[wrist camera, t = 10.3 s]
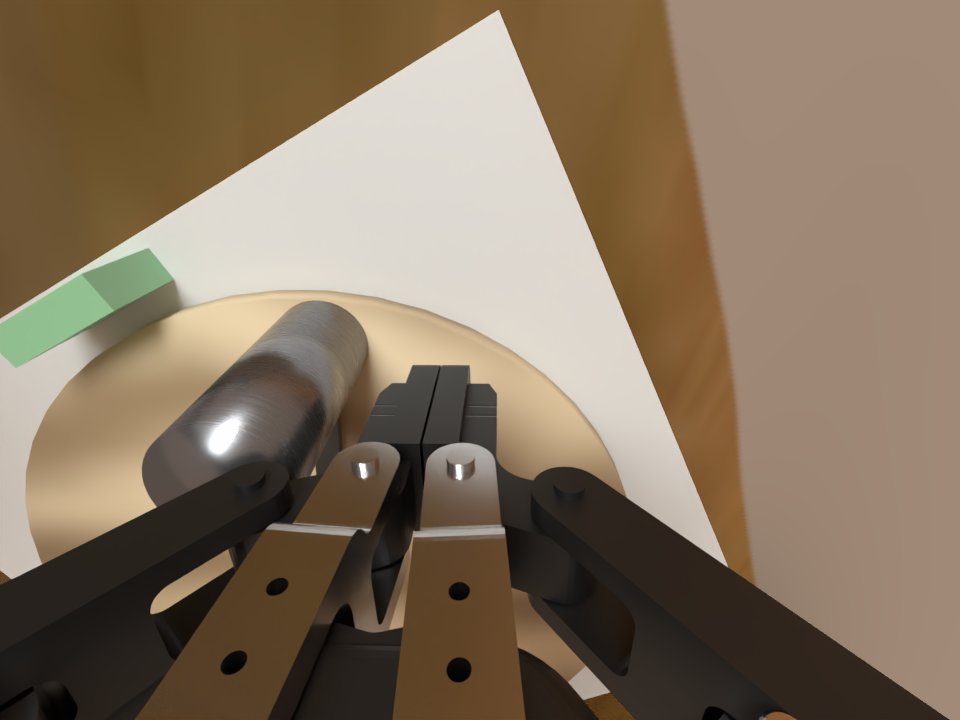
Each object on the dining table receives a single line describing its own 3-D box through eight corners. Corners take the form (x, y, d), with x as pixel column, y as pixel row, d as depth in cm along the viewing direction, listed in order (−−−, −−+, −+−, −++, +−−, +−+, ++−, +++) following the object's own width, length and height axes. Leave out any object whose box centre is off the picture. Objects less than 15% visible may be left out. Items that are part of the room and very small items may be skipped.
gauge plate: (-154, 418, 20) (-289, 482, 17) (497, 16, 14) (502, -18, 11) (288, 765, 32) (264, 847, 28) (752, 631, 26) (795, 714, 22)
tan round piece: (578, 731, 28) (611, 946, 21) (127, 708, 27) (-1, 920, 20) (699, 317, 17) (860, 469, 10) (-57, 261, 16) (-495, 378, 9)
